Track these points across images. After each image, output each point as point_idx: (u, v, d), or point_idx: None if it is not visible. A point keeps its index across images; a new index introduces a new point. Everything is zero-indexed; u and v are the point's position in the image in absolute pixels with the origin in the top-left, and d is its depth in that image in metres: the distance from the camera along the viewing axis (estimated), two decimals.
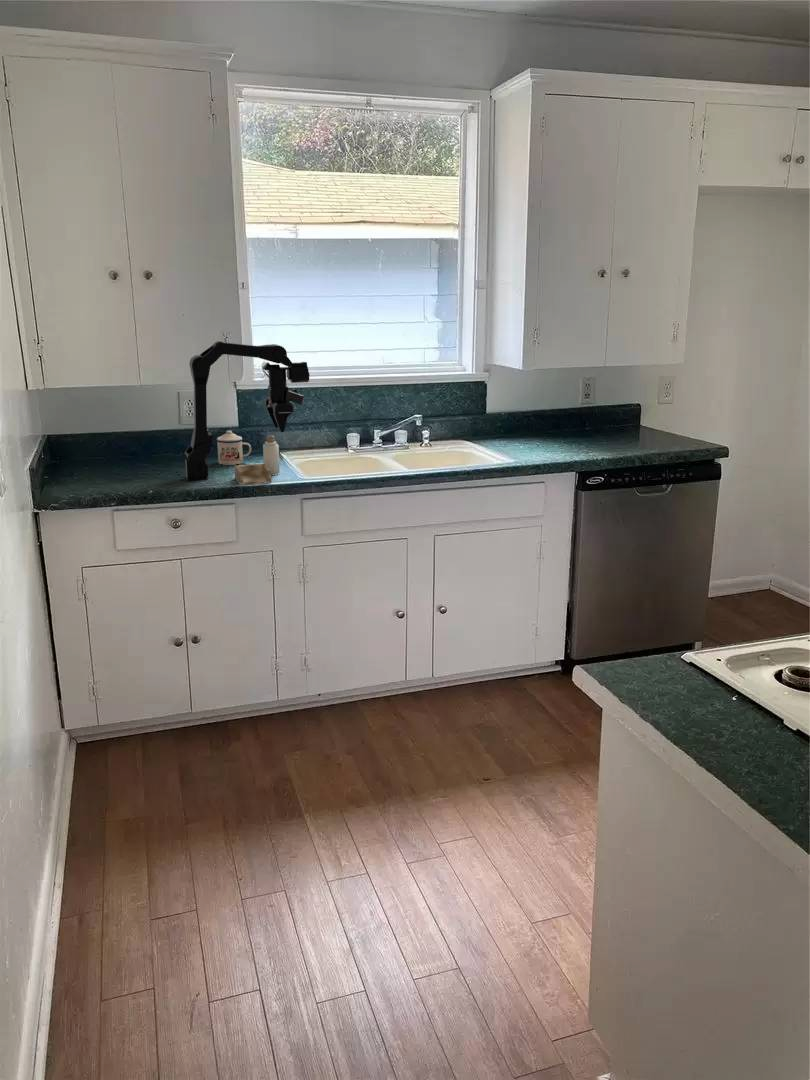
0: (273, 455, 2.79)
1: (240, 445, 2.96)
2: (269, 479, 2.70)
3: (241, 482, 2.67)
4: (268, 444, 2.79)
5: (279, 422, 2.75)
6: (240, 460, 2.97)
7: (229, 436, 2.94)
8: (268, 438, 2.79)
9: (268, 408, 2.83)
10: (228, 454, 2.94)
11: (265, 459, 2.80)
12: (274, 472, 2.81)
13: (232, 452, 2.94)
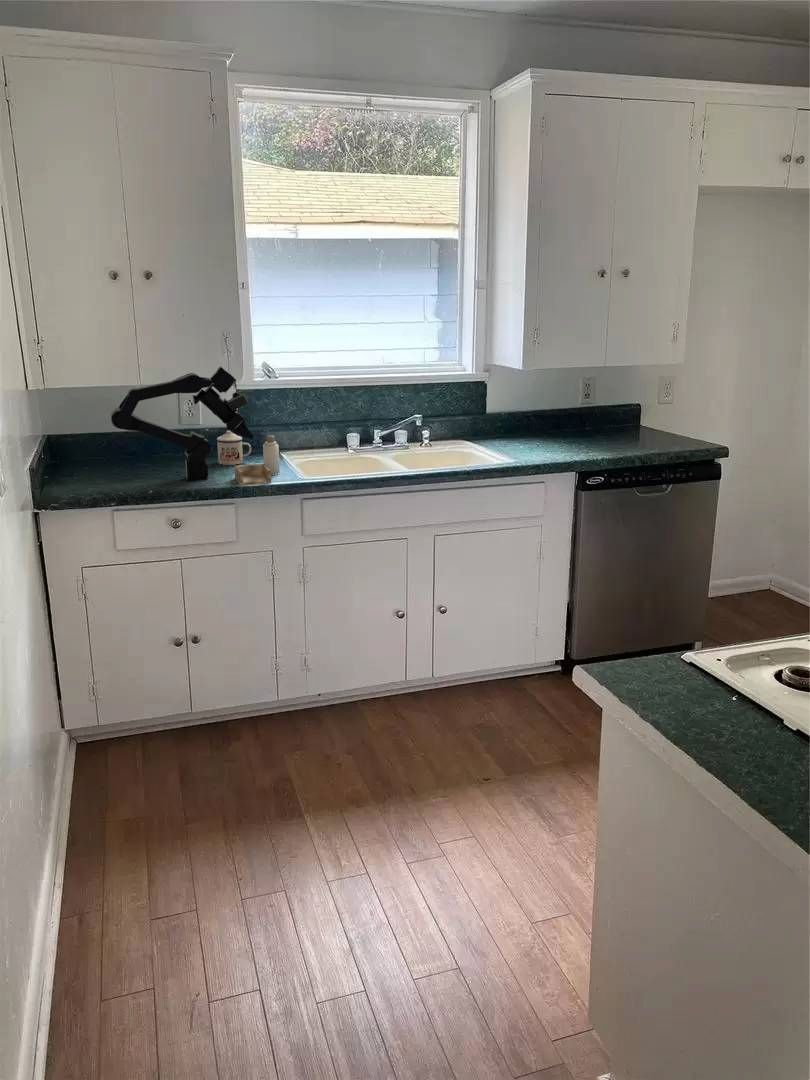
0: (273, 455, 2.79)
1: (240, 445, 2.96)
2: (269, 479, 2.70)
3: (241, 482, 2.67)
4: (268, 444, 2.79)
5: (243, 434, 2.71)
6: (240, 460, 2.97)
7: (229, 436, 2.94)
8: (268, 438, 2.79)
9: None
10: (228, 454, 2.94)
11: (265, 459, 2.80)
12: (274, 472, 2.81)
13: (232, 452, 2.94)
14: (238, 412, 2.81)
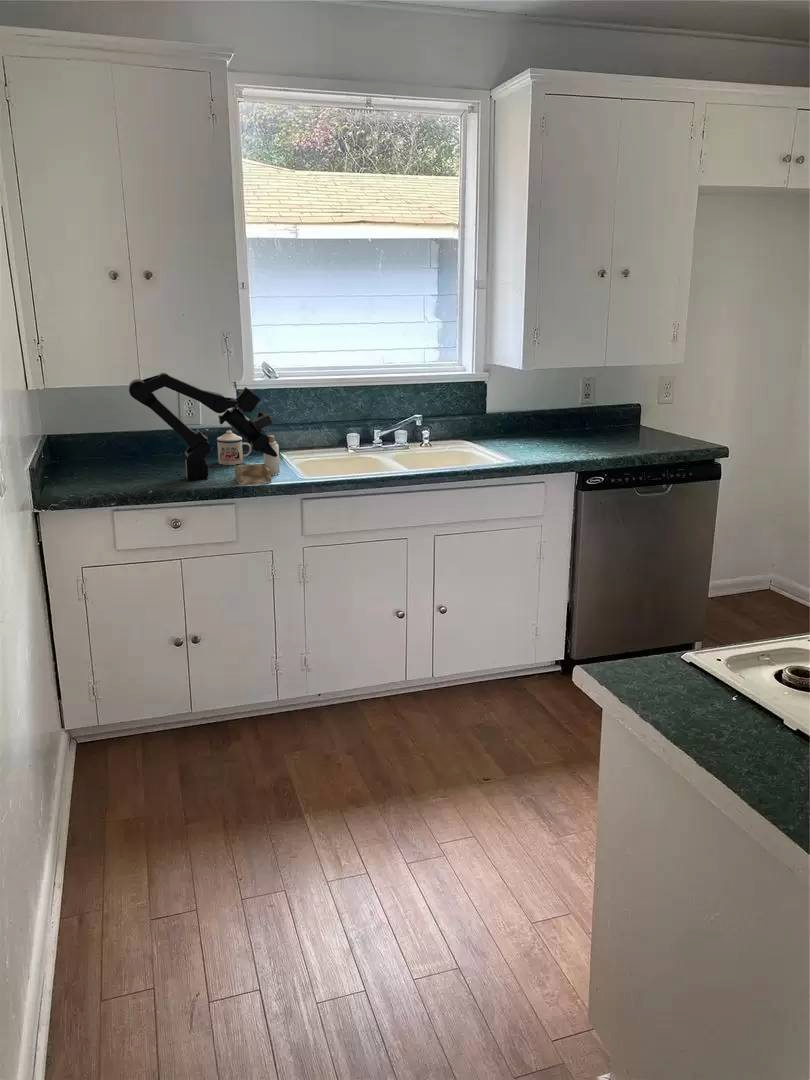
0: None
1: (240, 445, 2.96)
2: (269, 479, 2.70)
3: (241, 482, 2.67)
4: None
5: (267, 452, 2.77)
6: (240, 460, 2.97)
7: (229, 436, 2.94)
8: None
9: None
10: (228, 454, 2.94)
11: (265, 459, 2.80)
12: (274, 472, 2.81)
13: (232, 452, 2.94)
14: (263, 432, 2.84)
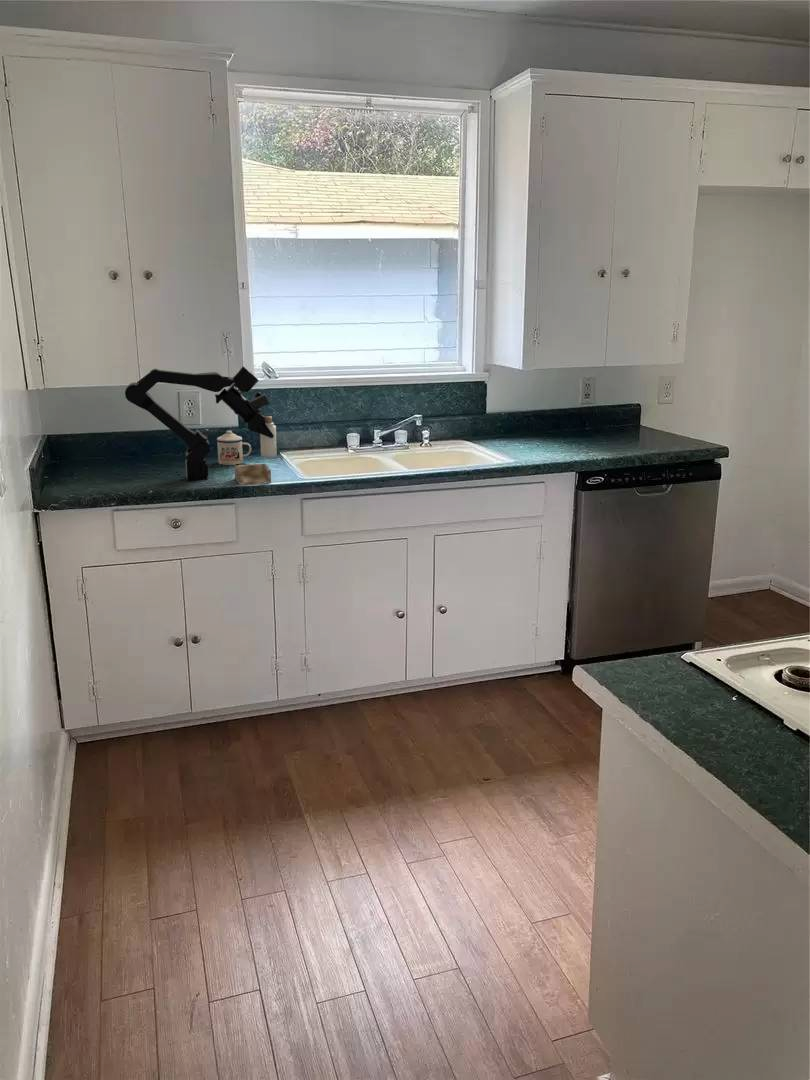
0: None
1: (240, 445, 2.96)
2: (269, 479, 2.70)
3: (241, 482, 2.67)
4: None
5: (263, 433, 2.73)
6: (240, 460, 2.97)
7: (229, 436, 2.94)
8: (265, 419, 2.75)
9: None
10: (228, 454, 2.94)
11: (262, 440, 2.76)
12: (270, 453, 2.77)
13: (232, 452, 2.94)
14: (261, 413, 2.80)
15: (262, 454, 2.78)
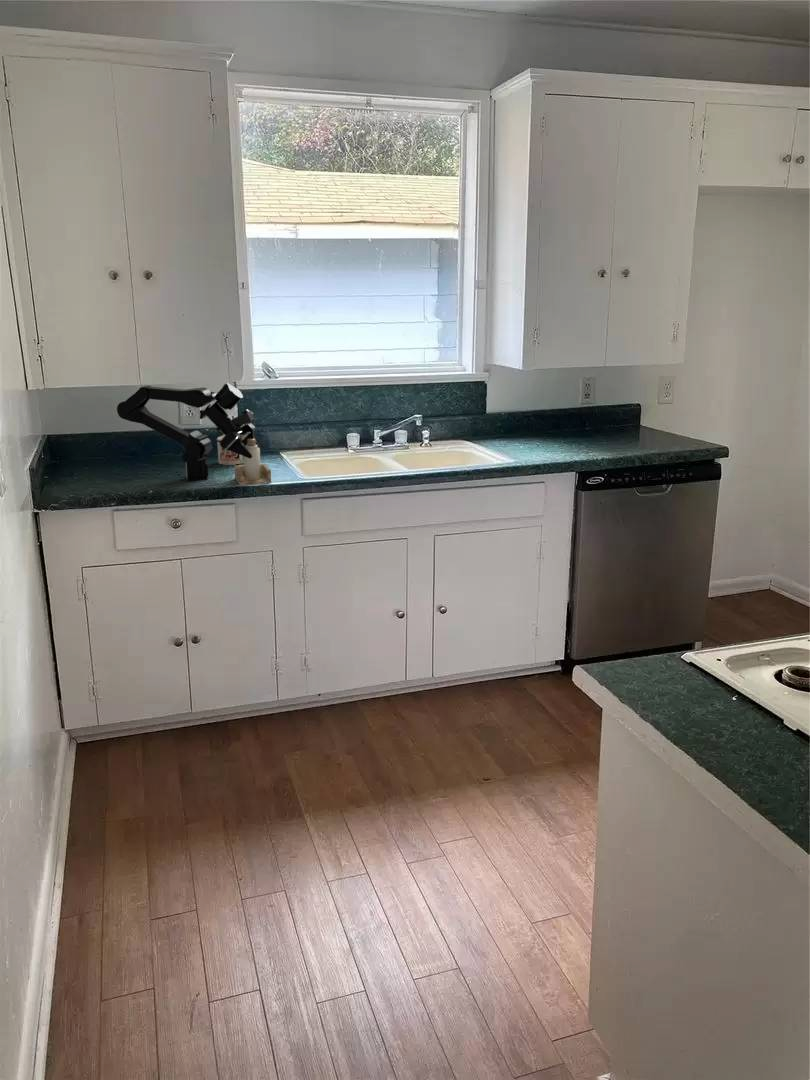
0: (250, 459, 2.68)
1: None
2: (269, 479, 2.70)
3: (241, 482, 2.67)
4: (246, 447, 2.68)
5: (239, 452, 2.65)
6: (240, 460, 2.97)
7: None
8: (247, 441, 2.68)
9: (242, 441, 2.75)
10: (228, 454, 2.94)
11: (244, 463, 2.70)
12: (251, 477, 2.70)
13: (232, 452, 2.94)
14: (253, 429, 2.75)
15: None
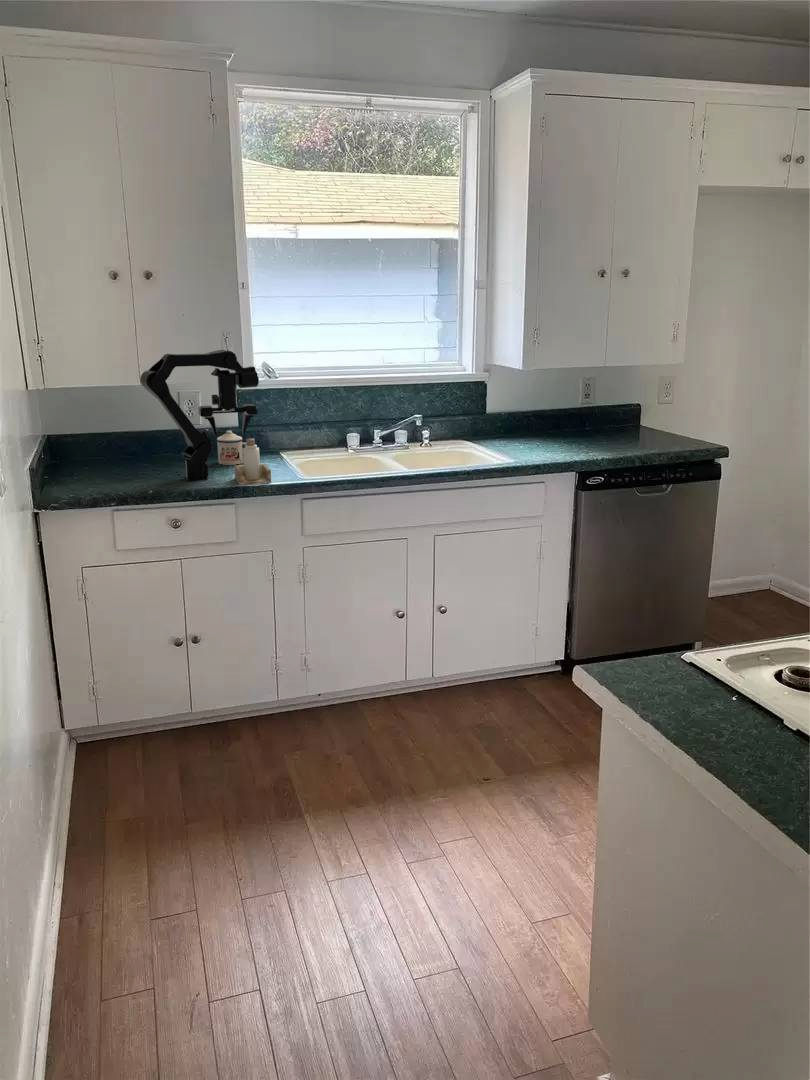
0: (249, 459, 2.69)
1: (240, 445, 2.96)
2: (269, 479, 2.70)
3: (241, 482, 2.67)
4: (246, 447, 2.69)
5: None
6: (240, 460, 2.97)
7: (229, 436, 2.94)
8: (247, 441, 2.69)
9: None
10: (228, 454, 2.94)
11: (244, 463, 2.70)
12: (251, 477, 2.70)
13: (232, 452, 2.94)
14: None
15: None
